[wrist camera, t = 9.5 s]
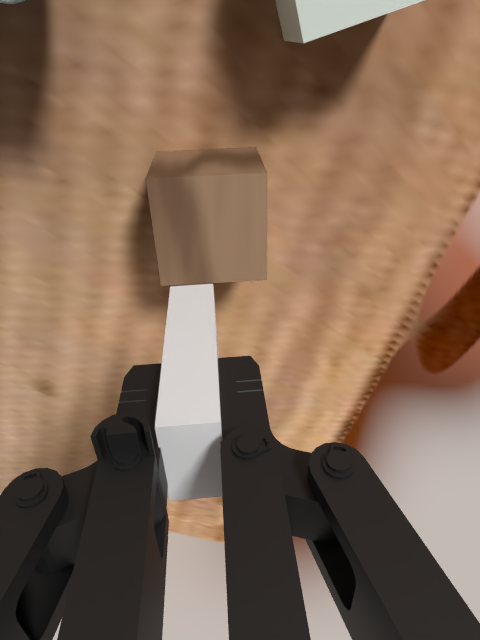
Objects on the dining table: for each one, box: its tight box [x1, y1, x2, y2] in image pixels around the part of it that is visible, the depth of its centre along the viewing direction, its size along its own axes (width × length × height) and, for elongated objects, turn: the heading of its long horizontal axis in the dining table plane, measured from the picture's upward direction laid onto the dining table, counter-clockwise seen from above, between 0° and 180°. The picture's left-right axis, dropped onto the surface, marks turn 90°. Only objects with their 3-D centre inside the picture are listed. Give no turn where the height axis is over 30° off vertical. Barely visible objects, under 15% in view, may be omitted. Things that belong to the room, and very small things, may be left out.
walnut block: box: [146, 147, 267, 286], centre depth 26 cm, size 6×6×6 cm
